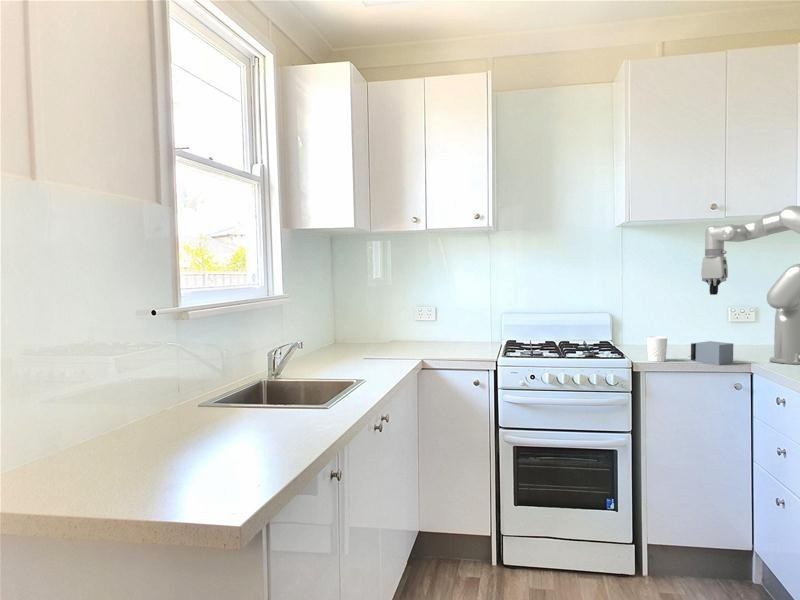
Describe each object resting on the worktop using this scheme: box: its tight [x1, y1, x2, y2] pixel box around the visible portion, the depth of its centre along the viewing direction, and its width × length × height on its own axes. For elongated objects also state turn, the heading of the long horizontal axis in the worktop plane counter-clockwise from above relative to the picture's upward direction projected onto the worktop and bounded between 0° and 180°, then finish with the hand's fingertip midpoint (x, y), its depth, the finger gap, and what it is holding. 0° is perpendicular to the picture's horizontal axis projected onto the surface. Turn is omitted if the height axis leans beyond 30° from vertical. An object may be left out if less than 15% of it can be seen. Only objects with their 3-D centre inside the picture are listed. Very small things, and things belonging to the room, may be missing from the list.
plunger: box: [690, 342, 697, 361], centre depth 246 cm, size 10×11×7 cm
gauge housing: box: [687, 340, 734, 366], centre depth 248 cm, size 21×14×8 cm, turn 31°
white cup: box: [646, 335, 668, 363], centre depth 248 cm, size 8×8×10 cm
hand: (713, 294), depth 265 cm, fingers closed
